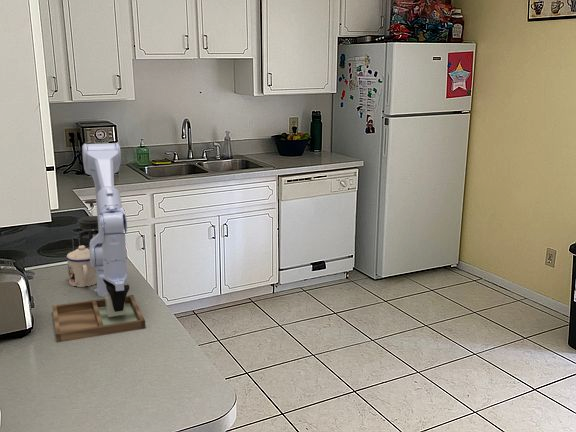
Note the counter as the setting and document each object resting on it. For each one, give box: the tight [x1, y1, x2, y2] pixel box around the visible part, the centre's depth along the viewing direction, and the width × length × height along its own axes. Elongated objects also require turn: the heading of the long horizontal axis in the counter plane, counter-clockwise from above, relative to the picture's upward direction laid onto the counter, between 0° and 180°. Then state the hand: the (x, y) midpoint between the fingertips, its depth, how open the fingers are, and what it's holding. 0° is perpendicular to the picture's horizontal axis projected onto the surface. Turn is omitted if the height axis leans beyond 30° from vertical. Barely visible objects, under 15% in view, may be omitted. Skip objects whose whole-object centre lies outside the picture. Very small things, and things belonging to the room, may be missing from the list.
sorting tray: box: [51, 294, 147, 343], centre depth 153 cm, size 18×21×3 cm
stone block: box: [104, 292, 126, 317], centre depth 154 cm, size 4×4×5 cm
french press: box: [71, 199, 100, 251], centre depth 189 cm, size 12×9×23 cm
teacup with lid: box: [65, 244, 97, 288], centre depth 178 cm, size 12×9×12 cm
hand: (117, 307), depth 154 cm, fingers closed on stone block, 4 cm apart
